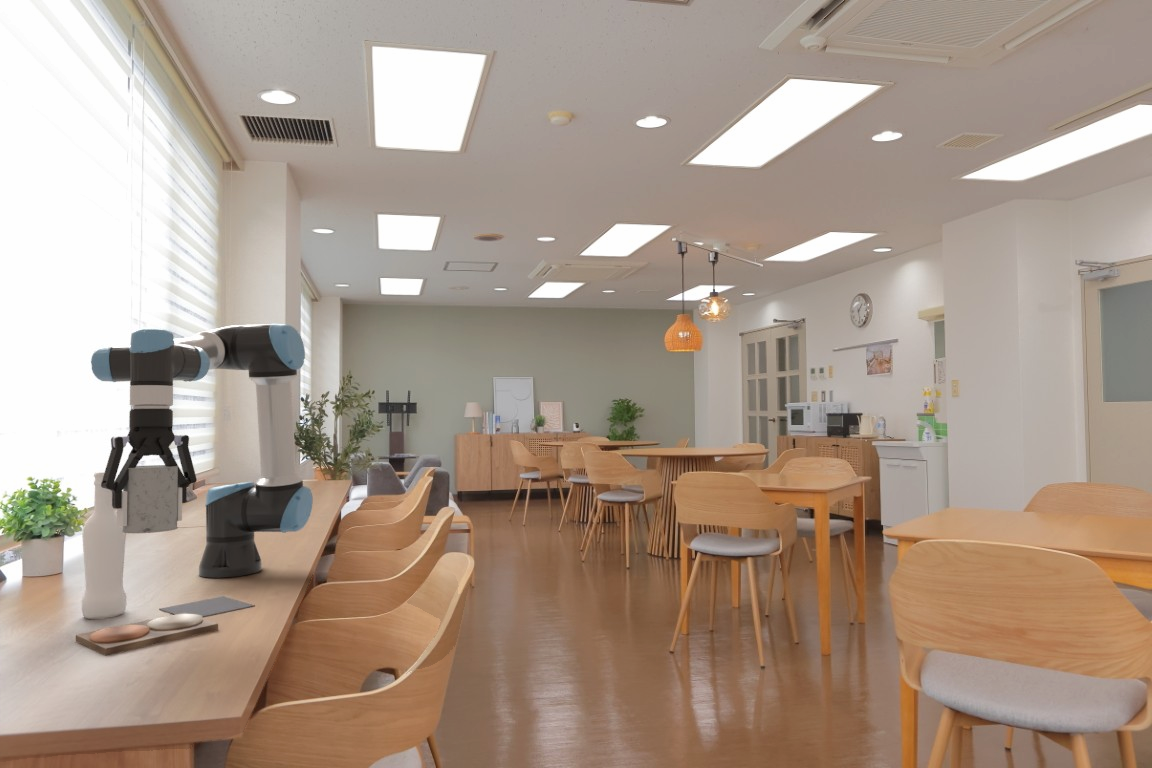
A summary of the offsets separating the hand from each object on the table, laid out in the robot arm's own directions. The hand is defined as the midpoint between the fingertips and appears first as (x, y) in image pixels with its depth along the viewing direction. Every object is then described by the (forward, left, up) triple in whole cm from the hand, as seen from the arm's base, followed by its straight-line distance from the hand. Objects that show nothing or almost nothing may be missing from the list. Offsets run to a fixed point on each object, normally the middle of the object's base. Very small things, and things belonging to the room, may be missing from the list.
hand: (150, 522), depth 156 cm
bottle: (+1, -20, -21) cm, 29 cm away
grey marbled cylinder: (0, 0, -2) cm, 2 cm away
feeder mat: (-15, -8, -21) cm, 27 cm away
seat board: (+2, +4, -21) cm, 21 cm away
